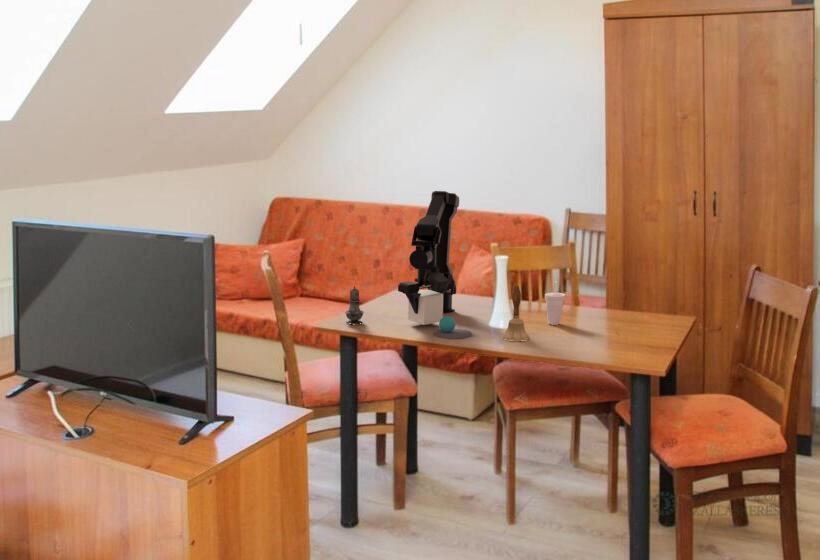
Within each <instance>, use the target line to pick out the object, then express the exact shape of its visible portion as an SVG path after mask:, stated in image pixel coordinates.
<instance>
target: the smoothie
mask: <svg viewBox="0 0 820 560" xmlns="http://www.w3.org/2000/svg"><path fill="white" fill-rule="evenodd" d="M554 283H555V284H554V291H553V292H546V293H545V294H544V298H545V304H546V313H547V314H546V315H547V324H548V323H549V324H553V325H556V324H560V325H561V319H562V313H563V307H564V300H565V299H566V295H565V293H561V292H557V291H558V290H557V289H558V288H557V287H558V280H555V282H554ZM549 324H548V325H549ZM553 325H552V326H553Z"/></svg>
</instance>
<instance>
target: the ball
mask: <svg viewBox="0 0 820 560" xmlns="http://www.w3.org/2000/svg"><path fill="white" fill-rule="evenodd" d="M438 323H439V324H438V327H439V329H441V330H442V331H443V332H446V333H448V332H451V331H453V330H454V328H455V329H456V320H455V319H454V318H453V317H452V316H450V315H449V316H448V315H446V316H443V318H442V319H441V320H440V322H438Z"/></svg>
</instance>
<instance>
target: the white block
mask: <svg viewBox="0 0 820 560" xmlns="http://www.w3.org/2000/svg"><path fill="white" fill-rule="evenodd" d="M418 293H421V295H420V297H419V302H418V314H415V313H414V310H413V308H412V306H411V304H410V302H409V301H408V307H407V308H408V314H407V316H408V317H407V320H408V321H410V322H414V323H417V324H420V325H423V326H425V325H430V324H435V323H439V322H440V320H441V319H442V318H443V317H444V313H443V294H442V293H438V292H435V291H431V290H428V288H426V289H423V290H421V289H420V290H419V291H418Z"/></svg>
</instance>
